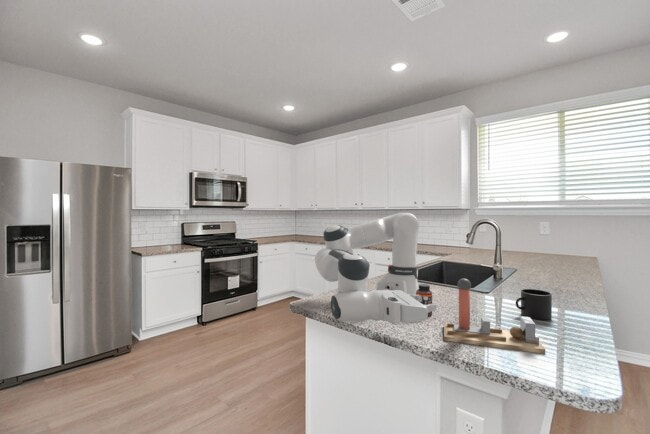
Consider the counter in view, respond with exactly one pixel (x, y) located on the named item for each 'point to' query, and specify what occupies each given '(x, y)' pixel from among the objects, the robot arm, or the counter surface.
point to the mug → (535, 304)
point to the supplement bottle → (425, 295)
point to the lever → (468, 311)
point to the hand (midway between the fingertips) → (427, 302)
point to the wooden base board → (491, 339)
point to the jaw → (529, 331)
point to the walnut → (516, 332)
